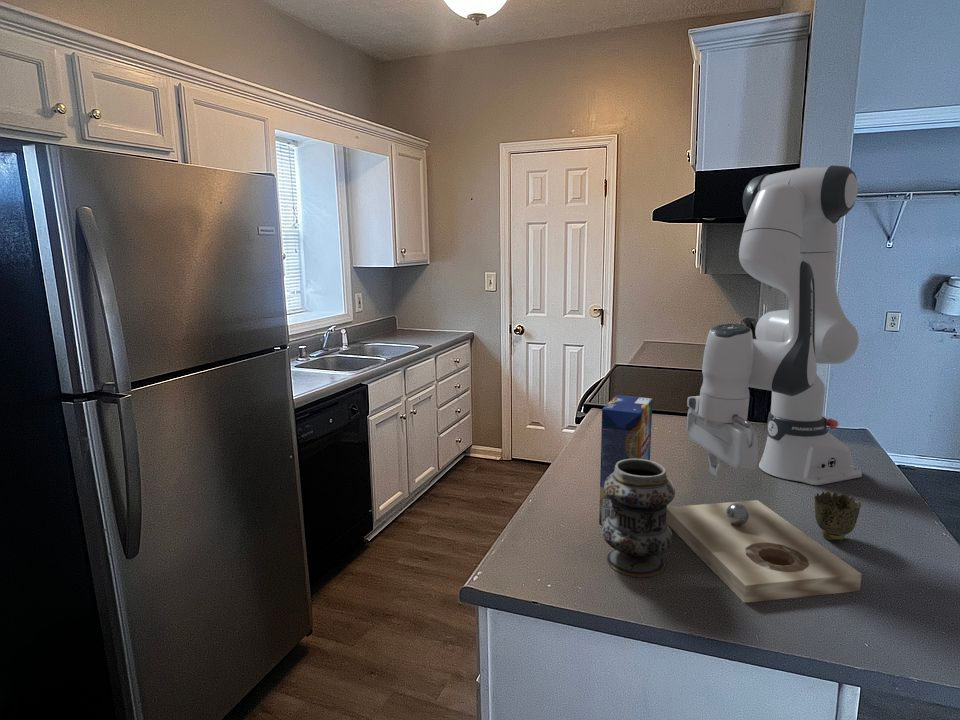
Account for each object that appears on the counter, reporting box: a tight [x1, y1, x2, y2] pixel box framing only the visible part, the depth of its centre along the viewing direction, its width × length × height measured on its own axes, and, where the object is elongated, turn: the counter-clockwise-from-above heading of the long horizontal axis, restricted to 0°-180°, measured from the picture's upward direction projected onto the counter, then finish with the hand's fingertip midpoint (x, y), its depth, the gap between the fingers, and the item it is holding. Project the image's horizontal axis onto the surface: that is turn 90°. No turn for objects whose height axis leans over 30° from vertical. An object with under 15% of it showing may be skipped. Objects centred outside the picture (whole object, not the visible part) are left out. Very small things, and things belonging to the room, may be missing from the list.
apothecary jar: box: [601, 459, 676, 578], centre depth 102 cm, size 12×12×18 cm
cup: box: [814, 491, 862, 543], centre depth 110 cm, size 8×7×8 cm
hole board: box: [666, 499, 863, 604], centre depth 106 cm, size 20×28×3 cm
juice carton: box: [598, 394, 653, 525], centre depth 120 cm, size 12×8×24 cm, turn 154°
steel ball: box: [726, 503, 749, 525], centre depth 110 cm, size 4×4×4 cm
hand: (716, 475), depth 116 cm, fingers closed
